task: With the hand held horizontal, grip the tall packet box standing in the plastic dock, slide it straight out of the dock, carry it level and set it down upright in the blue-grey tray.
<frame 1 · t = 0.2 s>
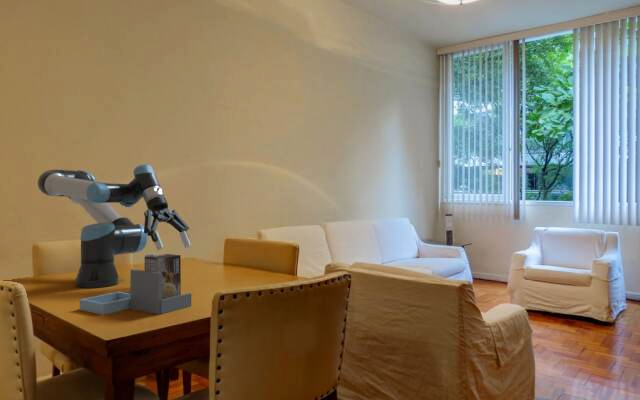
hand: (174, 247, 177), 15 cm above the table, tool tilted 35°, fingers open, 13 cm apart
coffee box: (162, 307, 146), on the table
salt shaker: (150, 290, 172), on the table
dock: (162, 306, 146), on the table
tray: (111, 307, 144), on the table
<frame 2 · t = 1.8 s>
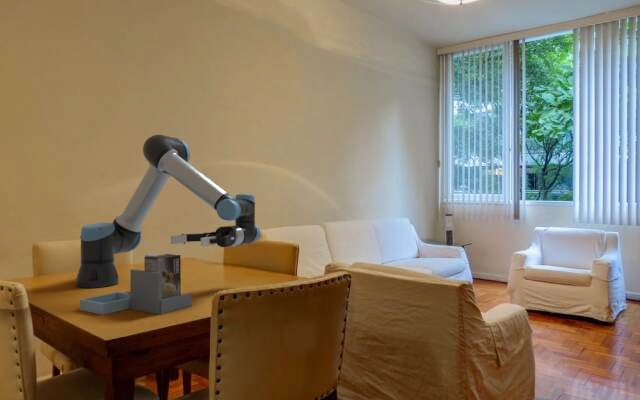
hand: (186, 241, 154), 20 cm above the table, tool horizontal, fingers open, 13 cm apart
nothing on the table moved.
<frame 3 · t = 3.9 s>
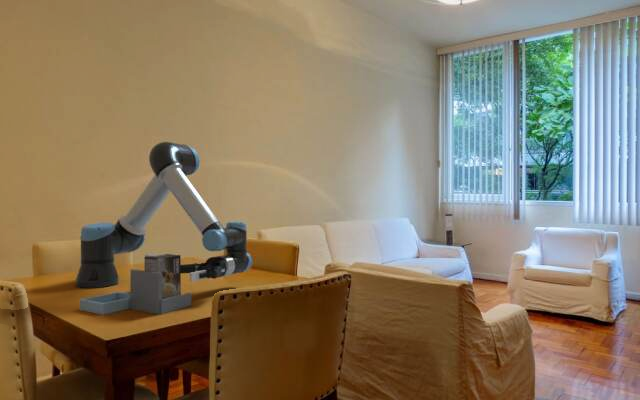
hand: (174, 275, 149), 9 cm above the table, tool horizontal, fingers open, 13 cm apart
nothing on the table moved.
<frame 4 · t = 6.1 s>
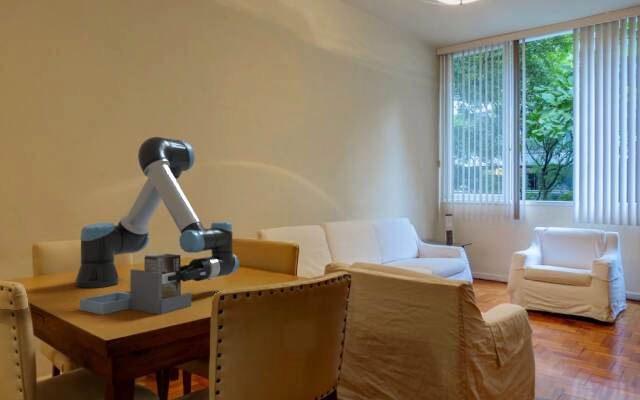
hand: (149, 278, 141), 10 cm above the table, tool horizontal, fingers closed on coffee box, 7 cm apart
coffee box: (162, 307, 146), on the table, touching gripper
everything else where it was.
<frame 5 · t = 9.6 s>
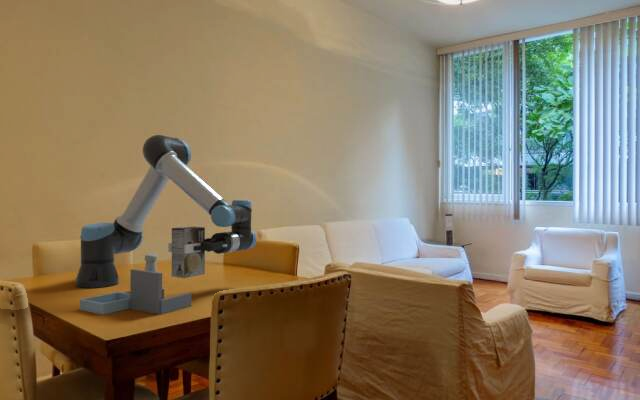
hand: (177, 248, 151), 18 cm above the table, tool horizontal, fingers closed on coffee box, 7 cm apart
coffee box: (188, 276, 155), point 8 cm above the table, touching gripper
everything else where it was.
when the fingers open (13 cm above the table, at t = 13.3 s): coffee box drops 3 cm, resting on tray.
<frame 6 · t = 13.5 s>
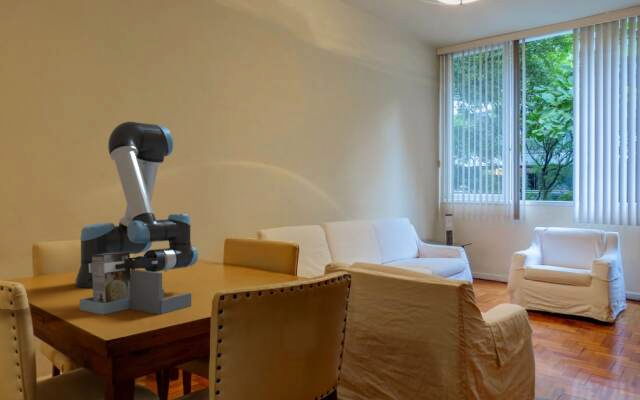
hand: (97, 268, 140), 13 cm above the table, tool horizontal, fingers open, 7 cm apart
coffee box: (112, 306, 144), point 1 cm above the table, touching gripper, tray
everything else where it was.
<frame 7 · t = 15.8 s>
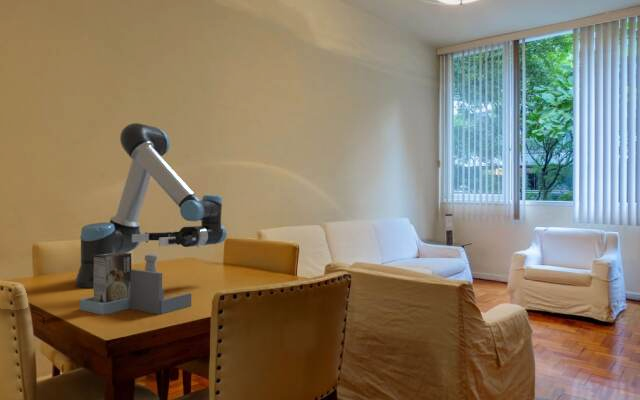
hand: (145, 240, 157), 20 cm above the table, tool horizontal, fingers open, 13 cm apart
coffee box: (112, 306, 144), resting on tray
everything else where it was.
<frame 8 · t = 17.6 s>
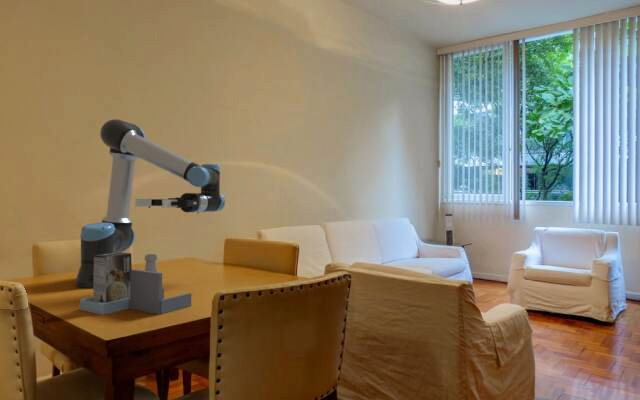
hand: (149, 203, 164), 32 cm above the table, tool horizontal, fingers open, 13 cm apart
nothing on the table moved.
at the end: coffee box inside the target area on the tray (0.8 cm from its centre), point 0.4 cm above the tray's base; coffee box tilted 0°; the gripper is holding nothing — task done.
